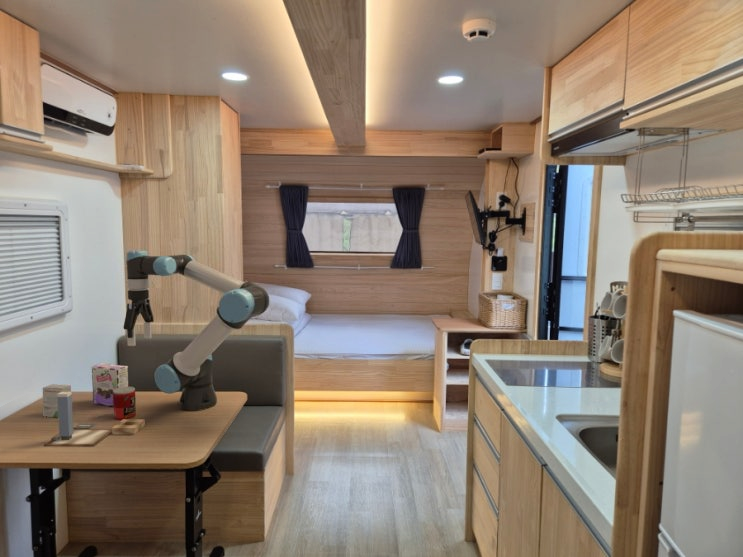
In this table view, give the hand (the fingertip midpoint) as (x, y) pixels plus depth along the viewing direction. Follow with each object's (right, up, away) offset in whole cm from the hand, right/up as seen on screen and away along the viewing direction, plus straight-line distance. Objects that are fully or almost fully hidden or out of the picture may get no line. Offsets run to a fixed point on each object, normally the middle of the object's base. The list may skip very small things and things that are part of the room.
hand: (140, 341), depth 190 cm
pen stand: (+4, -30, -16) cm, 35 cm away
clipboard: (-10, -31, -23) cm, 40 cm away
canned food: (-4, -29, -3) cm, 30 cm away
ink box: (-31, -29, -3) cm, 43 cm away
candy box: (-17, -28, +10) cm, 34 cm away
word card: (-14, -30, -13) cm, 36 cm away
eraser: (-13, -31, -25) cm, 42 cm away
